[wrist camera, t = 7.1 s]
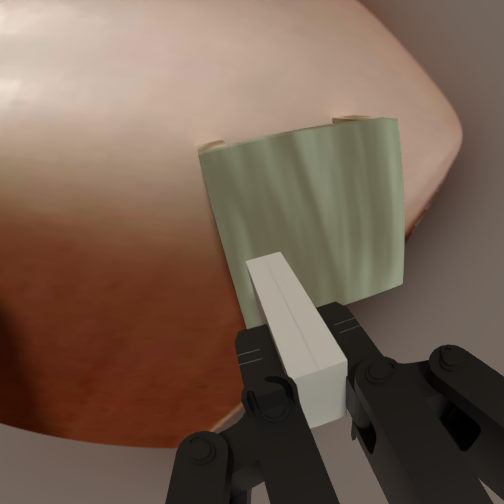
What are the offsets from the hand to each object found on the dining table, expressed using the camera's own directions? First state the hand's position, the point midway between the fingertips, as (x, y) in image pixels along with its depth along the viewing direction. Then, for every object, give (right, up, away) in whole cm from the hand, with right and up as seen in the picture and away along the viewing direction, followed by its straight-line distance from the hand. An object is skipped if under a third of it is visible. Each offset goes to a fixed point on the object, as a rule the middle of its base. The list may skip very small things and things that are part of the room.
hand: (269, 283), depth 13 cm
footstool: (-3, +2, +5) cm, 6 cm away
